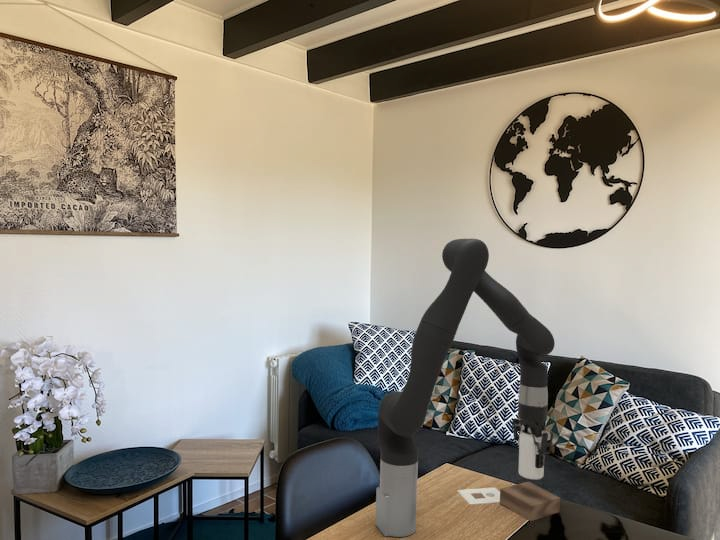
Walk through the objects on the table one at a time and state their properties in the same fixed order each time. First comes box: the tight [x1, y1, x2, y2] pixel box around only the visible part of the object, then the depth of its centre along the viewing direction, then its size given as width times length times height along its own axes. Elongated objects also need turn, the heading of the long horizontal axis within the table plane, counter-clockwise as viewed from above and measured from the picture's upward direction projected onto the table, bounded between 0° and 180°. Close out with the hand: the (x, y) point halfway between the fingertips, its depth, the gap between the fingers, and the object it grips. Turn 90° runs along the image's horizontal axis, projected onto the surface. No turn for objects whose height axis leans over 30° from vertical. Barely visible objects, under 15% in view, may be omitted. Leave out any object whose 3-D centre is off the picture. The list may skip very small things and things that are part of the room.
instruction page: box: [456, 486, 500, 506], centre depth 154 cm, size 12×9×1 cm
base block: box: [499, 481, 561, 522], centre depth 147 cm, size 11×11×4 cm
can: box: [518, 430, 545, 481], centre depth 147 cm, size 6×6×12 cm
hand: (530, 462), depth 147 cm, fingers closed on can, 6 cm apart
